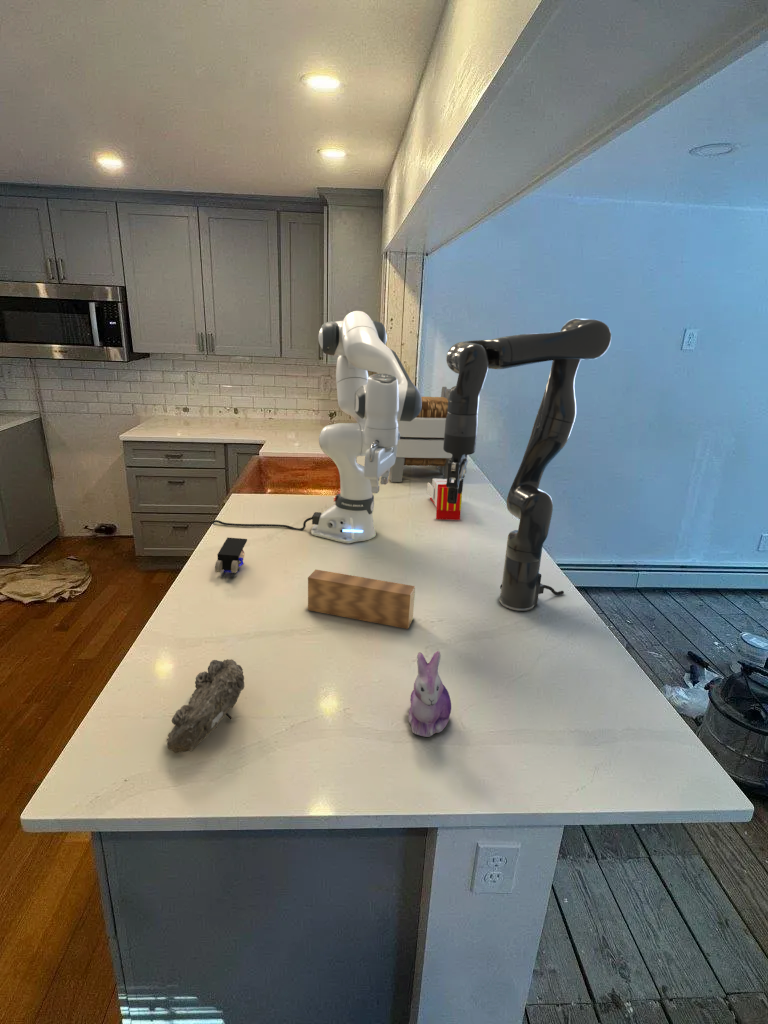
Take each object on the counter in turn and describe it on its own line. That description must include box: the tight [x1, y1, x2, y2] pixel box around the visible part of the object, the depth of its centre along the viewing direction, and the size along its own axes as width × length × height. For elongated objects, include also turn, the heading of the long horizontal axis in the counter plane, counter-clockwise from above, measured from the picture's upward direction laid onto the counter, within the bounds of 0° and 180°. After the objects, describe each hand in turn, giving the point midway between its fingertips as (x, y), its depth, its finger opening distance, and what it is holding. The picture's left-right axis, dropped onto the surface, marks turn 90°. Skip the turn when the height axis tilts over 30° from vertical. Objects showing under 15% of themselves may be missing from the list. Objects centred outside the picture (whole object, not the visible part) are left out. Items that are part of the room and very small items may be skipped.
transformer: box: [388, 386, 452, 483], centre depth 268 cm, size 34×33×41 cm
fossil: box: [166, 658, 245, 754], centre depth 106 cm, size 22×10×15 cm
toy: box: [426, 478, 463, 521], centre depth 226 cm, size 12×13×30 cm
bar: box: [307, 569, 416, 630], centre depth 145 cm, size 27×5×10 cm, turn 74°
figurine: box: [407, 650, 452, 738], centre depth 107 cm, size 9×10×15 cm
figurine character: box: [214, 537, 248, 578], centre depth 166 cm, size 7×8×15 cm
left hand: (379, 488), depth 154 cm, fingers open, 8 cm apart
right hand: (454, 497), depth 137 cm, fingers open, 8 cm apart
